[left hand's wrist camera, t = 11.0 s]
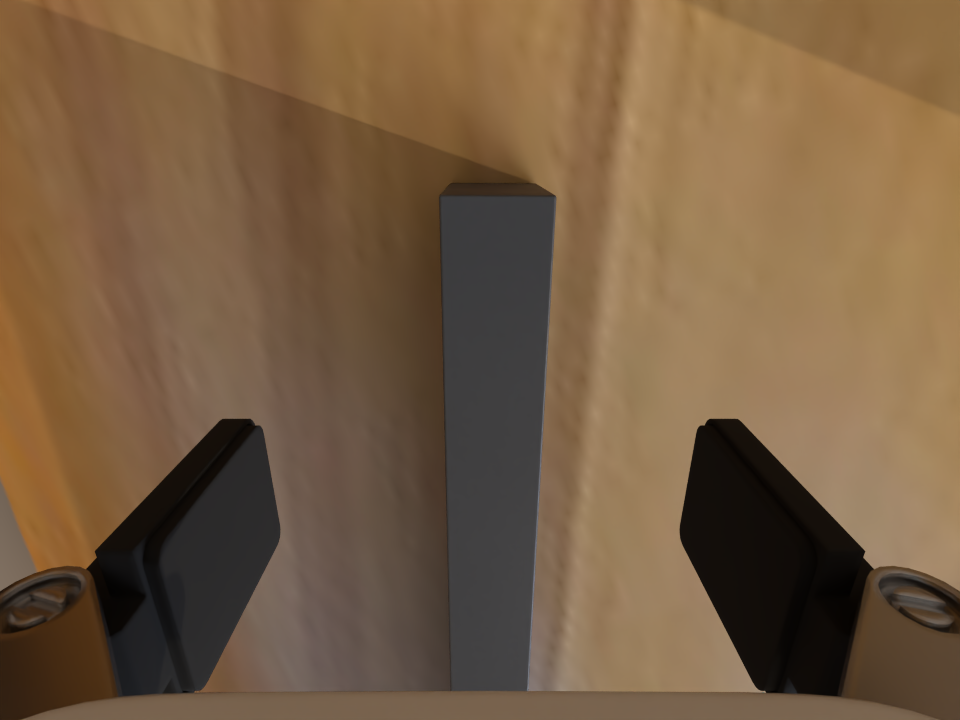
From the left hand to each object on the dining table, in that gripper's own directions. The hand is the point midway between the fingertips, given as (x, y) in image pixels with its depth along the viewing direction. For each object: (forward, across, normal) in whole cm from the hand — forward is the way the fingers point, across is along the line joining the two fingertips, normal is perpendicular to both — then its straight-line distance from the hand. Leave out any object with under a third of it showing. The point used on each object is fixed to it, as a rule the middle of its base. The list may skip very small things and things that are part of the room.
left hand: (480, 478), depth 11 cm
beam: (+20, 0, -32) cm, 37 cm away
